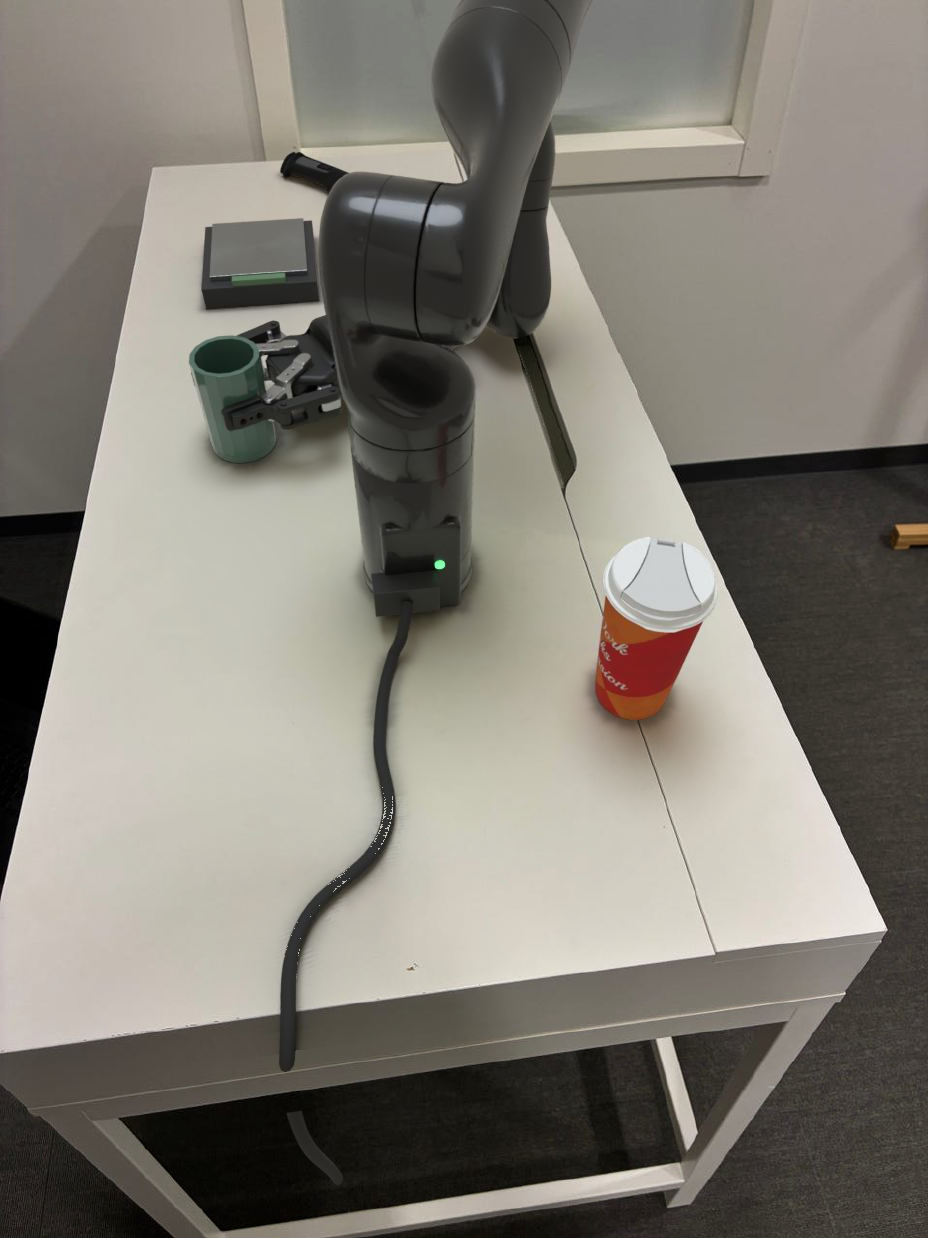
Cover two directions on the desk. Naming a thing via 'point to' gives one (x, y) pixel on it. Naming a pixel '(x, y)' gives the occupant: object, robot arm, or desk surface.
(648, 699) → the paper cup
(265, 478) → the desk surface
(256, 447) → the tumbler
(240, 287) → the scale
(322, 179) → the electric trimmer
